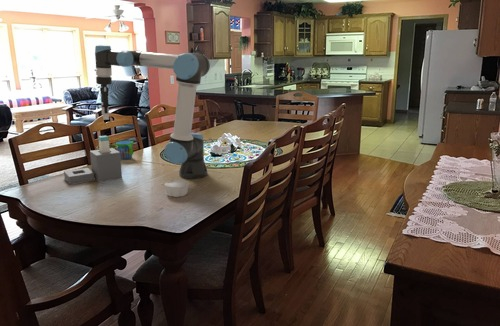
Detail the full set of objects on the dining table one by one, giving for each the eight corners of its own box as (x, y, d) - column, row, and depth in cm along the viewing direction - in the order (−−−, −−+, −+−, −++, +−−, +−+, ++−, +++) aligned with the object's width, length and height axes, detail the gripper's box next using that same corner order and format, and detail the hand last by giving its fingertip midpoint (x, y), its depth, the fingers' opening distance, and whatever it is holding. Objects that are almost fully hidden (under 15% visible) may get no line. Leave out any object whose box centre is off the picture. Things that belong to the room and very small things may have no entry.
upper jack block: (122, 177, 214) (119, 152, 210) (98, 181, 207) (96, 155, 203) (114, 172, 223) (112, 147, 220) (92, 176, 217) (89, 150, 213)
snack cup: (112, 156, 257) (111, 141, 254) (128, 154, 263) (127, 139, 261) (122, 161, 245) (121, 145, 242) (138, 159, 252) (137, 143, 249)
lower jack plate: (94, 180, 210) (93, 172, 209) (70, 184, 203) (69, 176, 202) (88, 174, 219) (87, 167, 218) (64, 178, 212) (63, 171, 211)
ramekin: (178, 188, 198) (177, 178, 197) (194, 193, 192) (193, 182, 190) (160, 194, 190) (159, 183, 189) (175, 199, 183) (175, 188, 182)
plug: (110, 157, 212) (108, 136, 209) (102, 158, 210) (100, 137, 207) (107, 155, 215) (106, 135, 212) (100, 156, 213) (98, 136, 210)
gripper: (95, 73, 217) (96, 112, 224) (97, 78, 196) (98, 121, 202) (109, 74, 220) (110, 112, 226) (113, 79, 198) (114, 121, 204)
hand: (105, 117), depth 214 cm, fingers open, 13 cm apart
